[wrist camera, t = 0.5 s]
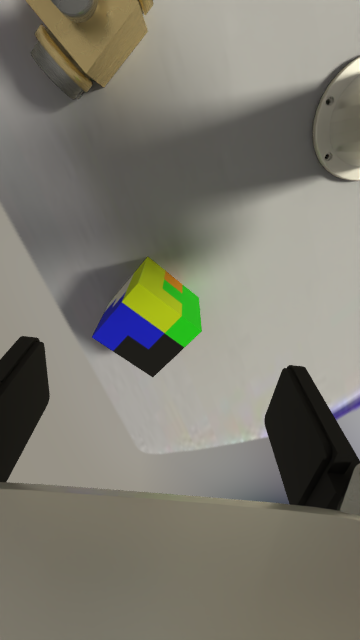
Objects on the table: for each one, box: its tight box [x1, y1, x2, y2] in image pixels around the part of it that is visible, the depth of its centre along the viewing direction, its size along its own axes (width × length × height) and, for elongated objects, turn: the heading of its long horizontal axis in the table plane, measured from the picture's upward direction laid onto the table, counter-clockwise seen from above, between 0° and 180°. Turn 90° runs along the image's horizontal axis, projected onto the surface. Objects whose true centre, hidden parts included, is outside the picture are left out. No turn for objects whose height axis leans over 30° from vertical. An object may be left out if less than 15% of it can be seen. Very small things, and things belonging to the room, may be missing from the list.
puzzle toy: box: [92, 257, 202, 377], centre depth 42 cm, size 10×10×10 cm
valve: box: [26, 0, 153, 99], centre depth 28 cm, size 13×7×8 cm, turn 132°
